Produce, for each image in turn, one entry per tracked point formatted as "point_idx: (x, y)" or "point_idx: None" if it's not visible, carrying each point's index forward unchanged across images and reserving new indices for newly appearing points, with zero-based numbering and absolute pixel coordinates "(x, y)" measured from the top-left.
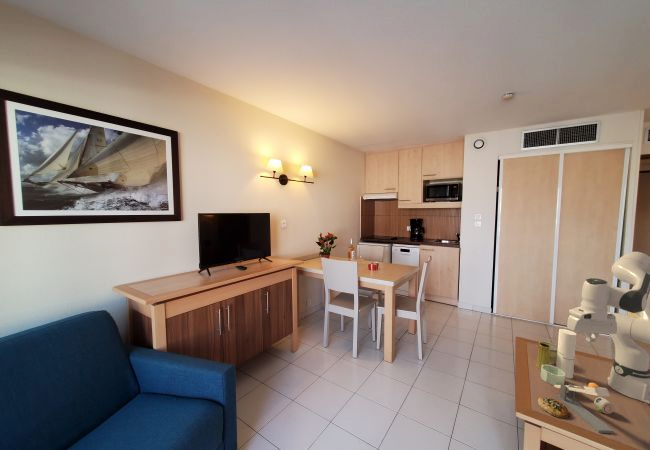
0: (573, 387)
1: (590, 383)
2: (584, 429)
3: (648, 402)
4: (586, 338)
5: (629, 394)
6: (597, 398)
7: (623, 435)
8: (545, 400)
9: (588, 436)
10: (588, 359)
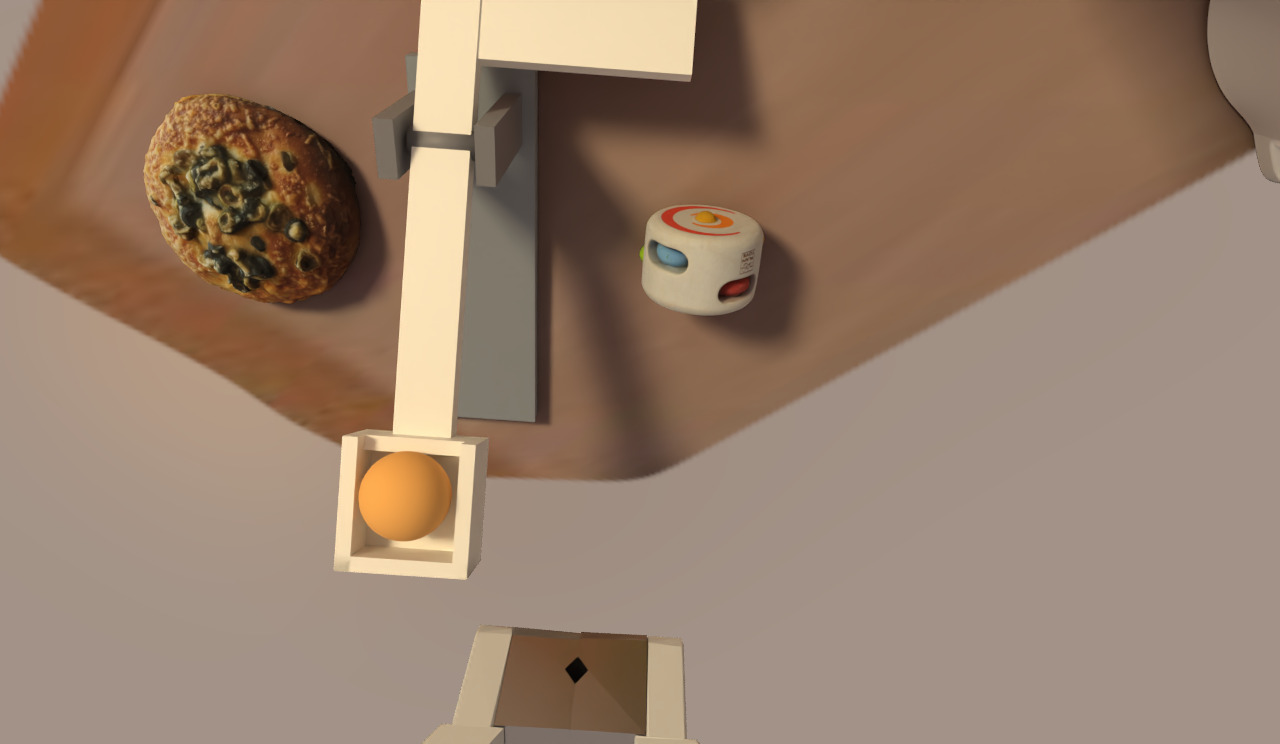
0: (476, 181)
1: (366, 503)
2: (359, 382)
3: (1270, 175)
4: (465, 679)
5: (1237, 77)
6: (669, 245)
7: (587, 429)
8: (189, 177)
9: (337, 427)
10: None
